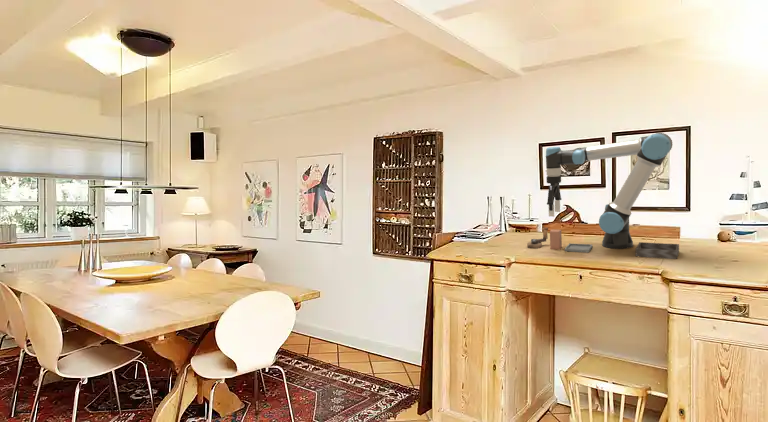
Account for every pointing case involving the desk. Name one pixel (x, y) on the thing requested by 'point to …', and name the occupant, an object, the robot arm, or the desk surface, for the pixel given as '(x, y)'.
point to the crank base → (534, 245)
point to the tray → (578, 247)
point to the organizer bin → (657, 250)
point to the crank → (543, 237)
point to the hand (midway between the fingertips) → (554, 214)
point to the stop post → (555, 239)
